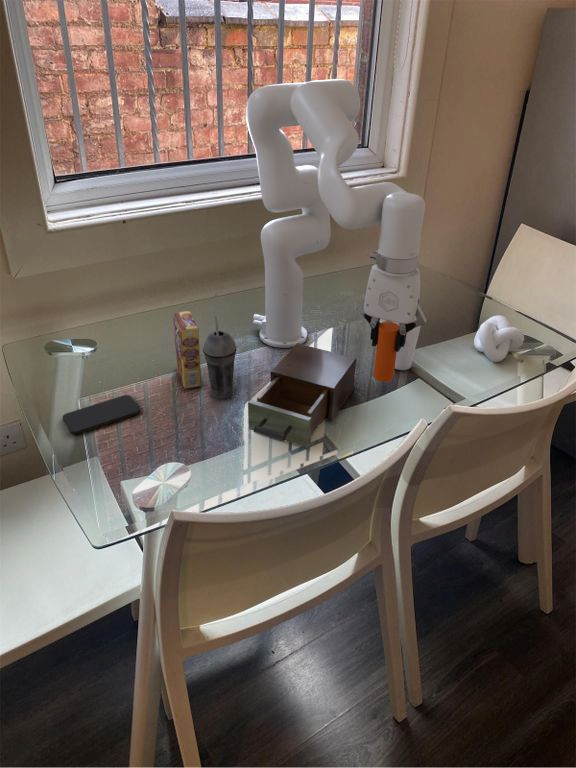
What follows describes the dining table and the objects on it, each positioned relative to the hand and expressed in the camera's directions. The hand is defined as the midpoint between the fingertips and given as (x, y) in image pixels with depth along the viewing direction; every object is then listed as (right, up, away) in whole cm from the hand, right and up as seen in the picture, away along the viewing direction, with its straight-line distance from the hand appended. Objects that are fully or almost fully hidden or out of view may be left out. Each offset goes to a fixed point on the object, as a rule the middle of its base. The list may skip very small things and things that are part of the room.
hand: (387, 345), depth 123 cm
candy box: (-43, -7, +19) cm, 48 cm away
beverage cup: (-35, -10, +14) cm, 39 cm away
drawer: (-21, -17, +2) cm, 27 cm away
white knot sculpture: (+32, 0, +31) cm, 44 cm away
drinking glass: (+7, -4, +25) cm, 26 cm away
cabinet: (-15, -11, +13) cm, 22 cm away
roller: (0, -6, +4) cm, 8 cm away
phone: (-60, -15, +6) cm, 62 cm away
